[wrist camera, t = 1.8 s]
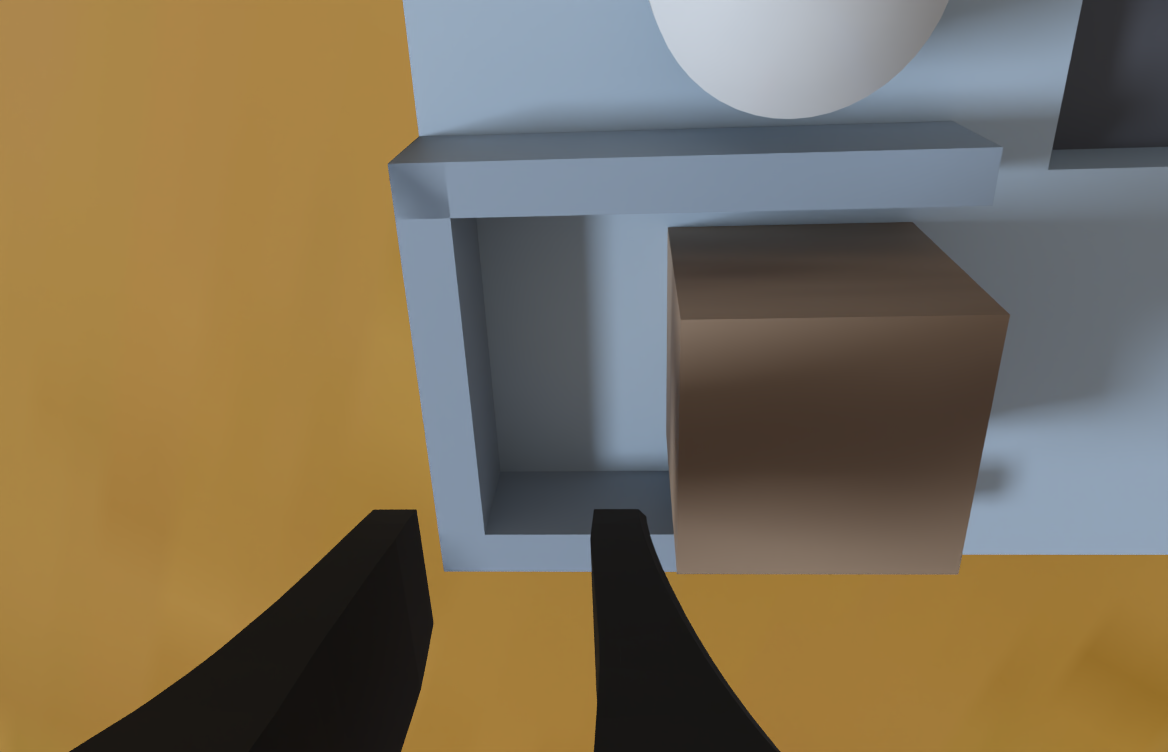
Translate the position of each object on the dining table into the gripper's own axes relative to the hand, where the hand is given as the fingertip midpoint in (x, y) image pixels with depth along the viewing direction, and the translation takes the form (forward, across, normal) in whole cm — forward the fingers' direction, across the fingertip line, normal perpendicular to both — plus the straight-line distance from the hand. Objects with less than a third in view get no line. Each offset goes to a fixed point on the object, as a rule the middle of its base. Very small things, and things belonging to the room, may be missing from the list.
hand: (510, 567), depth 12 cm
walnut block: (+8, -5, 0) cm, 9 cm away
